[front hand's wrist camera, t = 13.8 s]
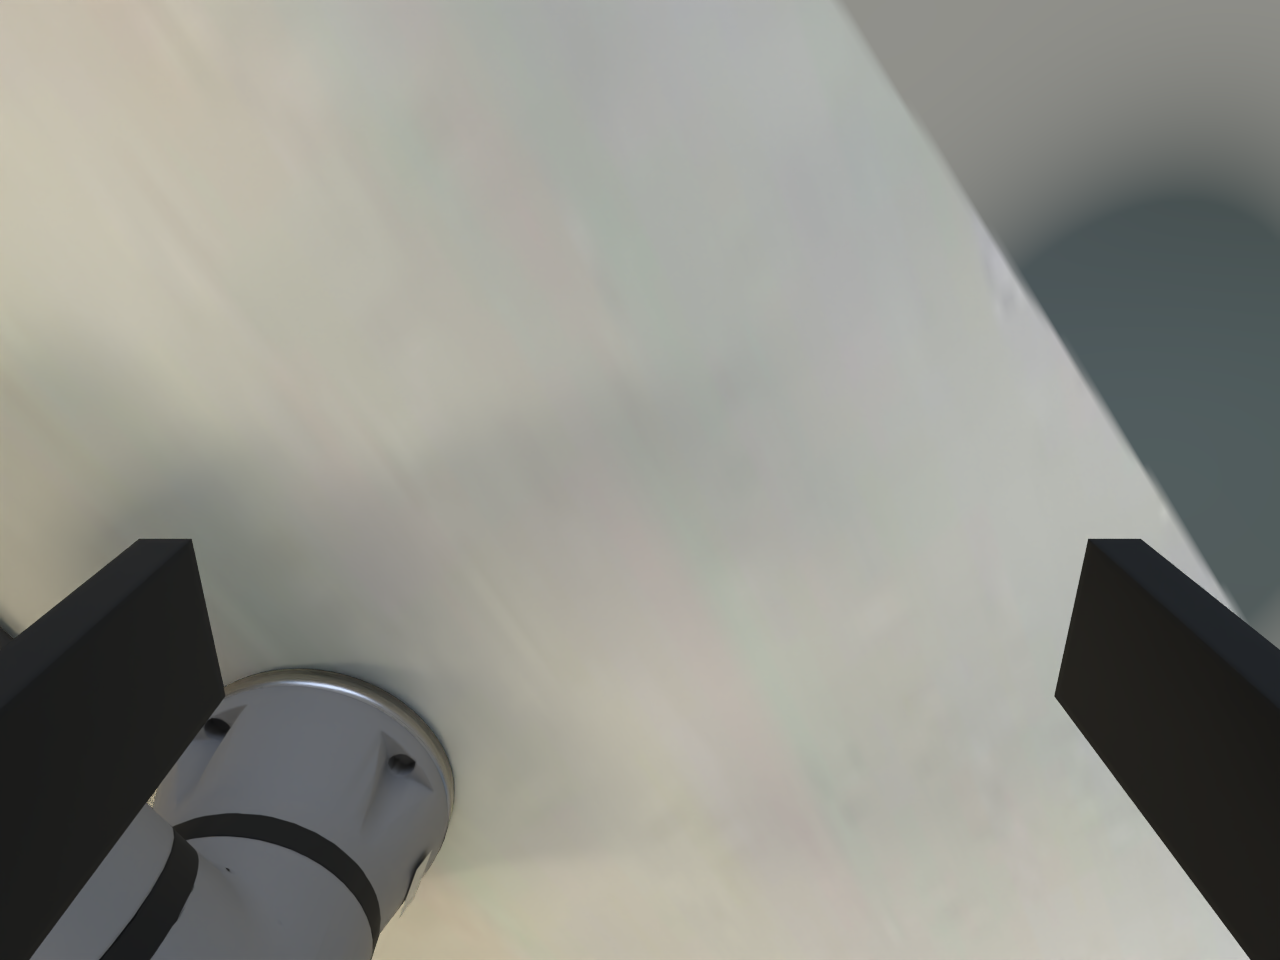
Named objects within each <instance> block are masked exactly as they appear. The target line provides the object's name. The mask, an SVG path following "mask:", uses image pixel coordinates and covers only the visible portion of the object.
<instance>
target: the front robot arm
mask: <svg viewBox="0 0 1280 960" xmlns="http://www.w3.org/2000/svg"><path fill="white" fill-rule="evenodd" d="M1055 698H1056V699H1057V700H1058V702H1059V703H1060V704H1061V706H1062V707H1063V708H1064V710H1065V711H1066V712H1067V714H1068V715H1069V716H1070V718H1071V719H1072V720H1073V722H1074V723H1075V724H1076V726H1077V727H1078V729H1079V730H1080V731H1081V733H1082V734H1083V735H1084V737H1085V738H1086V739H1087V741H1088V742H1089V743H1090V745H1091V746H1092V747H1093V749H1094V750H1095V751H1096V753H1097V754H1098V755H1099V757H1100V758H1101V759H1102V761H1103V762H1104V763H1105V765H1106V766H1107V767H1108V769H1109V770H1110V772H1111V773H1112V774H1113V776H1114V777H1115V778H1116V780H1117V781H1118V782H1119V784H1120V785H1121V786H1122V788H1123V789H1124V790H1125V792H1126V793H1127V794H1128V796H1129V797H1130V798H1131V800H1132V801H1133V802H1134V804H1135V805H1136V806H1137V808H1138V809H1139V810H1140V812H1141V813H1142V815H1143V816H1144V817H1145V819H1146V820H1147V821H1148V823H1149V824H1150V825H1151V827H1152V828H1153V829H1154V831H1155V832H1156V833H1157V835H1158V836H1159V837H1160V839H1161V840H1162V841H1163V843H1164V844H1165V845H1166V847H1167V848H1168V849H1169V851H1170V852H1171V853H1172V855H1173V856H1174V858H1175V859H1176V860H1177V862H1178V863H1179V864H1180V866H1181V867H1182V868H1183V870H1184V871H1185V872H1186V874H1187V875H1188V876H1189V878H1190V879H1191V880H1192V882H1193V883H1194V884H1195V886H1196V887H1197V888H1198V890H1199V891H1200V892H1201V894H1202V895H1203V896H1204V898H1205V899H1206V901H1207V902H1208V903H1209V905H1210V906H1211V907H1212V909H1213V910H1214V911H1215V913H1216V914H1217V915H1218V917H1219V918H1220V919H1221V921H1222V922H1223V923H1224V925H1225V926H1226V927H1227V929H1228V930H1229V931H1230V933H1231V934H1232V935H1233V937H1234V938H1235V940H1236V941H1237V942H1238V944H1239V945H1240V946H1241V948H1242V949H1243V950H1244V952H1245V953H1246V954H1247V956H1248V957H1249V958H1250V960H1280V650H1279V649H1278V648H1277V647H1275V646H1274V645H1273V644H1272V643H1270V642H1269V641H1268V640H1267V639H1265V638H1264V637H1263V636H1262V635H1260V634H1259V633H1258V632H1257V631H1255V630H1254V629H1253V628H1252V627H1250V626H1249V625H1248V624H1247V623H1245V622H1244V621H1243V620H1242V619H1240V618H1239V617H1238V616H1237V615H1235V614H1234V613H1233V612H1232V611H1230V610H1229V609H1228V608H1227V607H1225V606H1224V605H1223V604H1222V603H1220V602H1219V601H1218V600H1217V599H1215V598H1214V597H1213V596H1212V595H1210V594H1209V593H1208V592H1207V591H1205V590H1204V589H1203V588H1202V587H1200V586H1199V585H1198V584H1197V583H1195V582H1194V581H1193V580H1192V579H1190V578H1189V577H1188V576H1187V575H1185V574H1184V573H1183V572H1182V571H1180V570H1179V569H1178V568H1176V567H1175V566H1174V565H1173V564H1171V563H1170V562H1169V561H1168V560H1166V559H1165V558H1164V557H1163V556H1161V555H1160V554H1159V553H1158V552H1156V551H1155V550H1154V549H1153V548H1151V547H1150V546H1149V545H1148V544H1146V543H1145V542H1144V541H1143V540H1141V539H1088V543H1087V548H1086V552H1085V557H1084V561H1083V566H1082V571H1081V575H1080V580H1079V585H1078V589H1077V594H1076V598H1075V603H1074V608H1073V612H1072V617H1071V622H1070V626H1069V631H1068V635H1067V640H1066V645H1065V649H1064V654H1063V659H1062V663H1061V668H1060V672H1059V677H1058V682H1057V686H1056V691H1055ZM157 788H158V789H157ZM156 789H157V793H156V797H155V801H154V805H153V809H152V808H151V807H150V806H149V805H148V804H147V803H146V802H147V801H148V800H149V798H150V797H151V796H152V794H153V793H154V792H155V790H156ZM453 802H454V783H453V776H452V771H451V767H450V764H449V761H448V758H447V756H446V754H445V752H444V750H443V747H442V746H441V744H440V742H439V741H438V739H437V737H436V736H435V735H434V733H433V732H432V731H431V729H430V728H429V727H428V725H427V724H426V723H425V722H424V721H423V720H422V719H421V718H420V717H419V716H418V715H417V714H416V713H415V712H414V711H413V710H411V709H410V708H409V707H408V706H407V705H405V704H404V703H403V702H401V701H400V700H399V699H397V698H395V697H394V696H392V695H391V694H389V693H387V692H386V691H384V690H382V689H380V688H378V687H376V686H374V685H372V684H369V683H367V682H364V681H362V680H359V679H356V678H353V677H350V676H347V675H343V674H339V673H334V672H329V671H323V670H314V669H283V670H274V671H268V672H263V673H259V674H255V675H252V676H248V677H246V678H243V679H240V680H238V681H236V682H234V683H232V684H230V685H228V686H226V687H224V686H223V682H222V677H221V672H220V668H219V663H218V659H217V654H216V649H215V645H214V640H213V635H212V631H211V626H210V622H209V617H208V612H207V608H206V603H205V598H204V594H203V589H202V585H201V580H200V575H199V571H198V566H197V561H196V557H195V552H194V548H193V543H192V539H139V540H137V541H136V542H135V543H134V544H132V545H131V546H130V547H129V548H127V549H126V550H125V551H124V552H122V553H121V554H120V555H119V556H117V557H116V558H115V559H114V560H112V561H111V562H110V563H109V564H107V565H106V566H105V567H104V568H102V569H101V570H100V571H98V572H97V573H96V574H95V575H93V576H92V577H91V578H90V579H88V580H87V581H86V582H85V583H83V584H82V585H81V586H80V587H78V588H77V589H76V590H75V591H73V592H72V593H71V594H70V595H68V596H67V597H66V598H65V599H63V600H62V601H61V602H60V603H58V604H57V605H56V606H55V607H53V608H52V609H51V610H50V611H48V612H47V613H46V614H45V615H43V616H42V617H41V618H40V619H38V620H37V621H36V622H35V623H33V624H32V625H31V626H30V627H28V628H27V629H26V630H25V631H23V632H22V633H21V634H20V635H18V636H17V637H16V638H15V639H13V638H12V637H11V636H10V635H9V634H7V633H6V632H5V631H4V630H3V629H2V628H1V627H0V960H371V959H372V956H373V953H374V949H375V946H376V943H377V940H378V937H379V934H380V933H381V931H382V930H383V929H384V927H385V926H386V925H387V923H388V922H389V921H390V919H391V918H392V917H393V915H394V914H395V913H396V911H397V910H398V909H399V908H400V906H401V905H402V904H403V902H404V901H405V903H404V906H403V908H402V911H401V914H400V917H401V915H402V914H403V912H404V911H405V910H406V908H407V907H408V906H409V904H410V903H411V901H412V900H413V899H414V897H415V894H416V892H417V889H418V886H419V884H420V881H421V879H422V877H423V876H424V875H425V873H426V872H427V870H428V869H429V868H430V866H431V864H432V863H433V861H434V859H435V857H436V855H437V854H438V852H439V850H440V848H441V846H442V844H443V841H444V839H445V835H446V832H447V828H448V824H449V821H450V817H451V813H452V809H453ZM400 917H399V918H400Z"/></svg>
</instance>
